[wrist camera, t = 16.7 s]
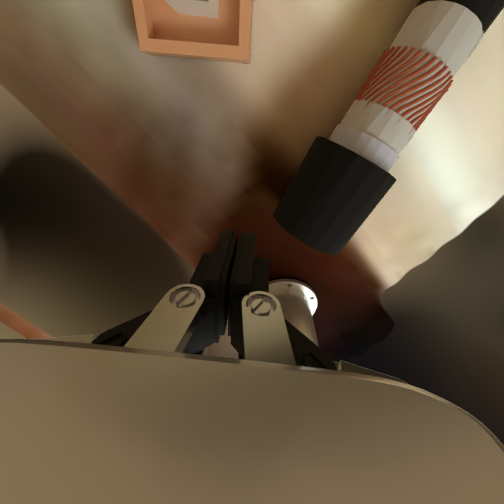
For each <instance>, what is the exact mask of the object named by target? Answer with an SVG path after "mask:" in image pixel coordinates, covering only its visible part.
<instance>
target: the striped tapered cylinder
mask: <svg viewBox="0 0 504 504" xmlns="http://www.w3.org/2000/svg"><path fill="white" fill-rule="evenodd" d="M503 8H504V0H420V1H419V3H418V4H417V6H416V7H415V8H414V10H413V11H412V12H411V13H410V15H409V16H408V18H407V20H406V21H405V23H404V25H403V26H402V28H401V30H400V31H399V33H398V34H397V36H396V38H395V39H394V41H393V43H392V44H391V46H390V48H388V49H387V50H386V51H384V53H383V54H382V55H381V57H380V59H379V61H378V62H377V64H376V65H375V67H374V69H373V70H372V72H371V74H370V75H369V77H368V79H367V80H366V82H365V84H364V85H363V87H362V88H361V90H360V92H359V94H358V95H357V97H356V98H355V100H354V102H353V103H352V105H351V106H350V108H349V110H348V111H347V113H346V115H345V116H344V118H343V120H342V121H341V123H340V124H337V126H336V128H335V129H334V131H333V133H332V134H331V136H330V138H329V139H326V138H323V137H319V136H317V137H316V139H315V140H314V142H313V144H312V146H311V147H310V149H309V151H308V153H307V155H306V156H305V158H304V160H303V162H302V163H301V165H300V167H299V169H298V171H297V172H296V174H295V176H294V178H293V179H292V181H291V183H290V185H289V186H288V188H287V190H286V192H285V194H284V195H283V197H282V199H281V201H280V202H279V204H278V206H277V208H276V209H275V211H274V213H273V216H274V217H275V219H276V221H277V222H278V223H279V224H280V225H281V226H282V227H283V228H284V229H285V230H286V231H288V232H289V233H290V234H291V235H293V236H294V237H296V238H297V239H299V240H300V241H302V242H303V243H305V244H307V245H309V246H310V247H312V248H314V249H317V250H319V251H321V252H324V253H326V254H331V255H337V254H339V253H340V251H341V250H342V249H343V247H344V246H345V245H346V244H347V242H348V241H349V240H350V239H351V237H352V236H353V235H354V233H355V232H356V231H357V230H358V228H359V227H360V226H361V225H362V223H363V222H364V221H365V219H366V218H367V217H368V216H369V214H370V213H371V212H372V211H373V209H374V208H375V207H376V205H377V204H378V203H379V202H380V200H381V199H382V198H383V197H384V195H385V194H386V193H387V192H388V190H389V189H390V188H391V186H392V185H393V184H394V183H395V181H396V179H395V178H394V177H393V176H392V175H391V174H389V173H388V171H389V170H390V168H391V167H392V166H393V164H394V163H395V162H396V160H397V159H398V158H399V156H398V155H399V153H400V152H401V151H402V149H403V148H404V147H405V146H406V145H407V143H408V142H409V141H410V139H411V138H412V137H413V135H414V134H415V132H416V131H417V129H418V128H419V127H420V125H421V124H422V122H423V121H424V120H425V119H426V117H427V116H428V114H429V113H430V112H431V111H432V109H433V108H434V107H435V105H436V104H437V102H438V101H439V100H440V99H441V98H442V96H443V95H444V93H446V92H447V91H448V88H449V87H450V86H451V83H452V82H453V80H452V78H453V77H454V75H455V74H456V73H457V71H458V70H459V69H460V68H461V66H462V65H463V64H464V62H465V61H466V60H467V59H468V57H469V56H470V55H471V53H472V52H473V51H474V50H475V48H476V47H477V45H478V44H479V42H480V41H481V39H482V38H483V34H484V33H485V32H486V30H487V29H488V28H489V26H490V25H491V24H492V22H493V21H494V20H495V18H496V17H497V16H498V14H499V13H500V12H501V10H502V9H503Z"/></svg>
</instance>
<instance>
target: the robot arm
mask: <svg viewBox="0 0 504 504" xmlns="http://www.w3.org/2000/svg"><path fill="white" fill-rule="evenodd" d="M255 238H256V233H251V232H245V235H243V234H241V236H240V240H239V244H238V248H237V240H238V234H234V231H231V230H222V232H221V235H220V237H219V240H218V242H217V245H216V247H215V250H214V252H213V254H209V253H204V254H203V255H202V257H201V259H200V262H199V264H198V266H197V268H196V270H195V272H194V274H193V276H192V278H191V281H190V283H189V284H182V285H179V286H176V287H174V288H172V289H171V290H170V291H169V292H168V293H167V294H166V295H165V296H164V298H163V299H162V300H161V301H160V302H159V304H158V305H157V306H156V308H155V309H154V310H152V311H149V312H147V313H145V314H143V315H141V316H139V317H136V318H134V319H132V320H129V321H127V322H125V323H123V324H120V325H118V326H116V327H114V328H112V329H109V330H107V331H105V332H104V333H102V334H100V335H99V336H98V337H95V336H94V335H93V334H91V335H80V336H68V337H57V338H46V339H0V504H504V445H503V444H502V443H501V442H500V441H499V440H498V439H497V438H496V437H495V435H494V434H492V433H491V431H489V430H488V429H487V428H486V427H485V426H484V425H483V424H482V423H481V422H480V421H478V420H477V419H476V418H474V417H473V416H472V415H470V414H469V413H468V412H466V411H464V410H463V409H461V408H459V407H458V406H456V405H454V404H452V403H450V402H449V401H447V400H445V399H443V398H440V397H438V396H436V395H434V394H432V393H429V392H427V391H425V390H422V389H419V388H417V387H414V386H411V385H408V384H407V383H406V382H404V381H402V380H399V379H397V378H394V377H391V376H388V375H385V374H382V373H379V372H376V371H372V370H369V369H366V368H363V367H360V366H357V365H353V364H350V363H347V362H344V361H341V362H340V363H337V362H334V361H333V360H332V358H331V357H330V356H329V355H328V354H327V353H326V352H324V351H323V350H322V349H321V348H320V347H318V342H317V337H316V333H315V328H314V323H313V318H312V315H313V314H314V312H315V310H316V308H317V298H316V294H315V292H314V291H313V289H312V288H311V287H310V286H308V285H307V284H305V283H303V282H301V281H298V280H295V279H278V280H273V281H270V282H269V259H260V258H254V249H255ZM227 320H228V336H231V345H232V346H233V347H234V348H235V349H236V350H237V352H238V359H234V358H224V357H215V356H206V353H207V347H208V346H210V345H211V344H213V343H214V342H216V343H218V341H219V337H220V335H224V334H225V330H226V325H227Z"/></svg>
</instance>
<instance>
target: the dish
mask: <svg viewBox="0 0 504 504" xmlns="http://www.w3.org/2000/svg"><path fill="white" fill-rule="evenodd" d="M132 3H133V9H134V15H135V21H136V28H137V34H138V40H139V47H140V51H142V52H144V53H147V54H150V55H155V56H167V57H179V58H190V59H202V60H214V61H226V62H237V63H249V64H250V51H251V31H252V11H253V0H218V18H211V17H202V16H192V15H183V14H178V13H177V12H176V11H175V10H174V9H173V8H172V7H171V6H170V5H169V4H168V3H167V2H166V1H165V0H132Z"/></svg>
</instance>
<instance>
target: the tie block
mask: <svg viewBox="0 0 504 504" xmlns="http://www.w3.org/2000/svg"><path fill="white" fill-rule="evenodd" d="M165 1H166V2H167V3H168V4H169V5H170V6H171V7H172V8H173V9H174V10H175V11H176V12H177V13H178V14H183V15H192V16H202V17H211V18H218V0H165Z"/></svg>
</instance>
